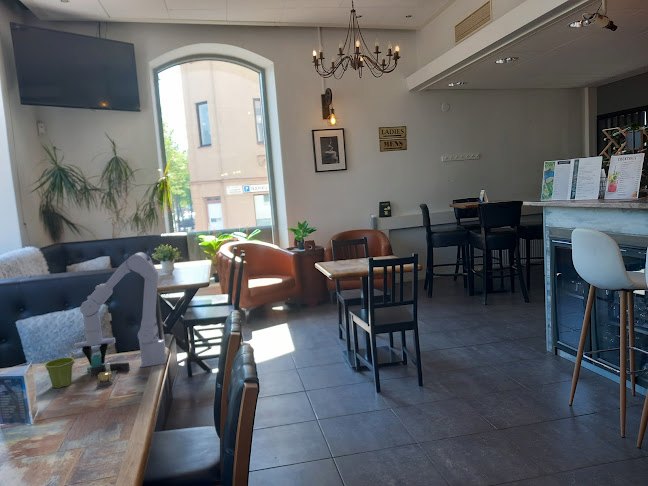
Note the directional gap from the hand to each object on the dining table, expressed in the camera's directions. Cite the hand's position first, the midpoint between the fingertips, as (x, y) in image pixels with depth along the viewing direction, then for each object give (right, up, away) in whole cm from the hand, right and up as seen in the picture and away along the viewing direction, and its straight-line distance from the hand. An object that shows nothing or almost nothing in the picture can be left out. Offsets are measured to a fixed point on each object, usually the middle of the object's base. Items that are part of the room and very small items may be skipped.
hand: (97, 363), depth 191 cm
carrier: (+9, -3, -10) cm, 14 cm away
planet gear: (0, -2, 0) cm, 2 cm away
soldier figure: (-16, -3, +8) cm, 18 cm away
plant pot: (-6, -5, -14) cm, 16 cm away
